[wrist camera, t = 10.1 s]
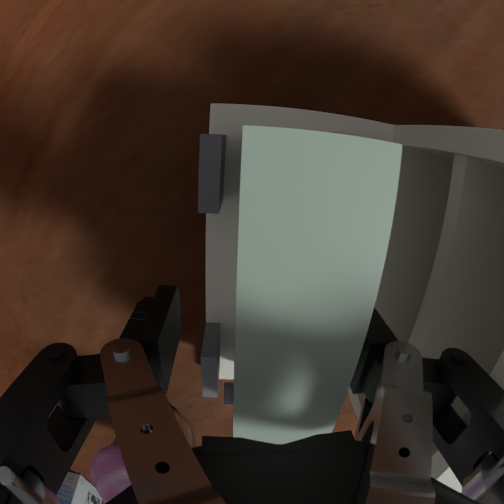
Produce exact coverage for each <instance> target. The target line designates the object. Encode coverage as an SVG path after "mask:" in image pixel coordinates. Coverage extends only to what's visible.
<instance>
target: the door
mask: <svg viewBox="0 0 504 504" xmlns="http://www.w3.org/2000/svg"><path fill="white" fill-rule="evenodd" d="M402 145H403V144H398V143H393V142H387V141H382V140H376V139H371V138H365V137H358V136H352V135H345V134H337V133H330V132H322V131H313V130H303V129H292V128H280V127H266V126H247V125H243V130H242V146H241V168H240V191H239V216H238V243H237V273H236V306H235V345H234V383H225V384H224V404H233V437H241V438H246V439H251V440H256V441H261V442H267V443H273V444H286V443H290V442H293V441H297V440H300V439H304V438H307V437H310V436H313V435H317V434H325V433H332V430H333V428H334V425H335V423H336V421H337V418H338V416H339V413H340V410H341V408H342V405H343V403H344V400H345V397H346V395H347V392H348V389H349V386H350V384H351V381H352V378H353V375H354V372H355V369H356V366H357V363H358V360H359V357H360V354H361V351H362V348H363V344H364V341H365V338H366V334H367V331H368V327H369V324H370V320H371V317H372V313H373V309H374V306H375V302H376V298H377V294H378V290H379V286H380V281H381V277H382V273H383V268H384V264H385V259H386V254H387V249H388V244H389V239H390V234H391V228H392V222H393V216H394V210H395V204H396V197H397V190H398V182H399V174H400V166H401V156H402Z"/></svg>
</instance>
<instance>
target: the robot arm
mask: <svg viewBox="0 0 504 504" xmlns="http://www.w3.org/2000/svg"><path fill="white" fill-rule="evenodd" d="M180 335H181V307H180V291H179V287H178V286H166V285H160V286H159V287H158V290H157V292H156V294H155V296H154V297H145V298H144V299H142V300H141V301H140V302H138V303H137V305H136V307H135V309H134V312H133V313H132V315H131V317H130V319H129V320H128V322H127V324H126V326H125V328H124V330H123V332H122V334H121V336H120V338H119V339H115V340H112V341H110V342H108V343H106V344H105V345H104V346H103V347H102V349H101V351H100V354H96V355H85V356H77V353H76V351H75V349H74V347H72V346H71V345H69V344H66V343H54V344H51V345H48V346H47V347H45V348H44V349H42V350H41V351H40V352H39V353H38V355H37V356H36V357H35V358H34V359H33V360H32V361H31V362H30V364H29V365H28V366H27V367H26V368H25V369H24V370H23V371H22V373H21V374H20V375H19V376H18V377H17V378H16V380H15V381H14V382H13V383H12V384H11V385H10V387H9V388H8V389H7V390H6V391H5V393H4V394H3V395H2V396H1V398H0V504H61V503H60V500H59V499H58V497H57V496H56V495H57V493H58V491H59V489H60V487H61V485H62V483H63V481H64V479H65V477H66V475H67V473H68V471H69V469H70V468H71V466H72V464H73V462H74V460H75V458H76V456H77V454H78V452H79V450H80V448H81V447H82V445H83V443H84V441H85V439H86V437H87V435H88V434H89V432H90V430H91V428H92V426H93V424H94V423H95V421H96V419H97V417H109V416H111V420H112V424H113V427H114V431H115V435H116V438H117V442H118V445H119V449H120V452H121V455H122V459H123V462H124V465H125V468H126V471H127V474H128V477H129V480H130V482H131V485H130V486H129V487H127V488H126V489H124V490H123V491H122V492H120V493H119V494H118V495H116V496H115V497H113V498H112V499H111V500H109V501H108V502H106V503H105V504H504V390H503V389H502V388H501V387H500V386H499V385H498V384H497V383H496V382H495V381H494V380H493V379H492V377H491V376H490V375H489V374H488V373H487V372H486V371H485V370H484V369H483V368H482V367H481V366H480V365H479V364H478V363H477V362H476V361H475V360H474V359H473V358H472V357H471V356H470V355H469V354H468V353H466V352H464V351H463V350H460V349H457V348H447V349H445V350H444V351H443V352H442V354H441V356H440V358H439V359H432V358H423V357H422V355H421V353H420V351H419V350H418V349H417V348H416V347H415V346H413V345H411V344H409V343H406V342H401V341H398V339H397V338H396V337H395V335H394V334H393V332H392V331H391V329H390V328H389V327H388V325H387V324H386V322H385V321H384V319H383V318H381V315H380V314H379V312H378V311H377V310H376V309H375V308H374V309H373V313H372V317H371V320H370V324H369V327H368V331H367V334H366V338H365V341H364V344H363V348H362V351H361V354H360V357H359V360H358V363H357V366H356V369H355V372H354V375H353V378H352V381H351V384H350V388H351V390H352V393H353V394H360V393H364V394H365V396H366V397H365V399H364V401H363V404H362V408H361V413H360V417H359V421H358V425H357V429H356V433H355V437H353V434H352V431H351V430H350V431H342V432H334V433H325V434H317V435H313V436H310V437H307V438H304V439H300V440H297V441H293V442H290V443H286V444H273V443H267V442H261V441H256V440H251V439H246V438H241V437H213V436H202V446H198V447H193V448H191V447H190V445H189V443H188V441H187V439H186V437H185V435H184V433H183V431H182V429H181V427H180V425H179V423H178V421H177V419H176V417H175V415H174V413H173V410H172V408H171V406H170V404H169V402H168V399H167V397H166V395H165V394H166V393H167V389H168V384H169V380H170V376H171V372H172V367H173V363H174V359H175V355H176V351H177V347H178V343H179V339H180ZM457 396H458V397H459V398H460V399H461V401H462V402H463V403H464V404H465V406H466V407H467V408H468V409H469V411H470V413H471V420H470V423H469V424H468V426H467V425H466V424H465V423H464V421H463V420H462V419H461V418H460V416H459V415H458V414H457V412H456V411H455V410H454V409H453V407H452V406H451V405H452V403H453V401H454V400H455V398H456V397H457ZM57 404H58V405H57ZM56 405H57V406H56ZM55 406H56V408H55ZM54 408H55V409H54ZM53 409H54V410H53ZM52 410H53V412H52ZM51 412H52V413H51ZM50 413H51V415H50ZM49 415H50V416H49ZM48 417H49V418H48ZM432 443H434V444H435V446H436V447H437V449H438V450H439V452H440V453H441V455H442V456H443V458H444V459H445V461H446V462H447V464H448V465H449V467H450V468H451V470H452V472H453V473H454V475H455V476H456V478H457V479H458V481H459V482H460V484H461V486H462V494H461V493H459V492H458V491H456V490H454V489H452V488H450V487H448V486H447V485H445V484H443V483H441V482H440V481H438V480H436V479H434V478H433V477H431V466H432Z"/></svg>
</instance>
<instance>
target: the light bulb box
mask: <svg viewBox="0 0 504 504" xmlns="http://www.w3.org/2000/svg"><path fill="white" fill-rule="evenodd" d="M56 496H57V497H58V499H59V500H60V503H61V504H101V500H102V498H101V497H100V495H99V493H98V491H97V490H96V488H95V487H94V486H93V485H92V484H91V483H89V482H88V481H87V480H86V479H85V478H84V477H83V476H82V475H80V474H76V473H72V472H68V473H67V475H66V477H65V479H64V481H63V483H62V485H61V487H60V489H59V491H58V493H57V495H56Z"/></svg>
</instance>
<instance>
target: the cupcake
mask: <svg viewBox="0 0 504 504" xmlns="http://www.w3.org/2000/svg"><path fill="white" fill-rule="evenodd" d="M171 408H172V407H171ZM172 410H173V413H174V415H175V417H176V419H177V421H178V423H179V425H180V427H181V429H182V431H183V433H184V435H185V437H186V439H187V441H188V443H189V445H190V447H191V448H193V447H197V442H196V437H195V434H194V431H193V430H192V428H191V427H190V426H189V425H188V423H187V422H186V421H185V420H184V419H183V417H182V416H181V415H180V414H179V413H178V412H177V411H176V410H175V409H173V408H172ZM90 474H91V478H92V480H93V483H94V485H95V488H96V490H97V491H98V493H99V495H100V497H101V498H102V500H103V501H104V502H105V503H106V502H108V501H109V500H111V499H112V498H113V497H115V496H116V495H118V494H119V493H120V492H122V491H123V490H124V489H126V488H127V487H129V486H130V485H131V482H130V480H129V477H128V474H127V471H126V468H125V465H124V462H123V459H122V455H121V452H120V449H119V445H118V442H117V438H115V440H114V441H113V443H112V444H111V445H110V446H107V447H105V448H102V449H100V450H99V451H98V453H97V454H96V456H95V457H94V459H93V461H92V463H91V468H90Z"/></svg>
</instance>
